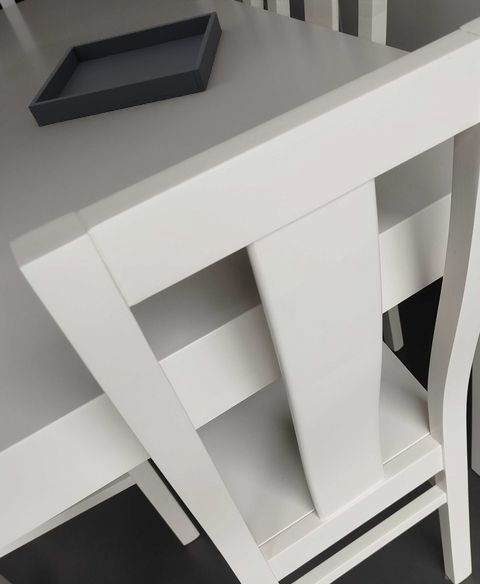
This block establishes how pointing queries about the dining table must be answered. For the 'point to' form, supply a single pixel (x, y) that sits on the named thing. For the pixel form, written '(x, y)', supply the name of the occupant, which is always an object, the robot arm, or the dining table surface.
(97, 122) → the dining table surface
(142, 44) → the tray
